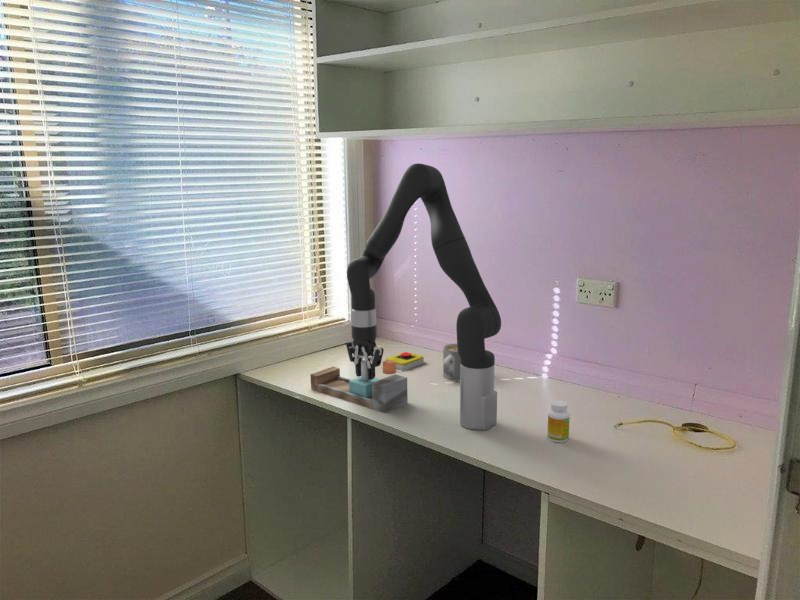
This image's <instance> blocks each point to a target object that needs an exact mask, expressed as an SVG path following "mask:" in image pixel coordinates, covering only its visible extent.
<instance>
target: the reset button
mask: <svg viewBox="0 0 800 600" xmlns="http://www.w3.org/2000/svg"><path fill="white" fill-rule="evenodd" d="M382 366H383V368H382V374H385V375H394V374H396V373H397V372H396V361H393V360H387V361H386V360H384V361H382Z"/></svg>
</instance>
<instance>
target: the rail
mask: <svg viewBox="0 0 800 600" xmlns="http://www.w3.org/2000/svg"><path fill="white" fill-rule="evenodd" d="M340 369H341V368H339V367H336V366H330V367H328V368H325V369H322V370H319V371H316V372H313V373H310V375H309V376H310V389H311V390H312V389H313V391H315V390H316V391H315V392H319V393H322V394H325V395H327V396H328V395H329V396H330V397H331V396H332V397H334V398H337V399H341V400H344V401H347V402H350V403H353V404H356V405H359V406H363V407H366V408H370V409H372V410H376V411H378V412H382V413H385V414H386V413H388V412H390V411H393V410H395V409H397V408H399V407H402V406H404V405H406V404H408V403H409V401H408V400H409V399H408V377H406V376H402V375H399V374H396V373H395V374H390V375H389V376H386V377H384V378H380V379H381V380H378V381H376V382H373V383H372V396H371V397H369V398H365V397H362V396H359V395H356V394H352V393H350V391H349V381H350V380H351V379H350V378H346V377H344V376H341V374H340V373H341V371H340Z"/></svg>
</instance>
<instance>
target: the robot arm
mask: <svg viewBox="0 0 800 600" xmlns="http://www.w3.org/2000/svg"><path fill="white" fill-rule="evenodd" d="M419 199H420V200H421V202H422V203H423V205H424V207H425V209H426V212H427V214H428V216H429V220H430V239H431V246H432V250H433V252H434V254H435V257H436V260H437V262H438V265H439V267H440V268H441V270H442V271H443V272H444V273H445V275H446V276H447V277H448V278H449V279H450V280H451V281H452V282H453V283H454V284H455V285H456V286H457V287H458V288H459V289H460V290H461V291H462V293H463V295H464V297H465V298H466V301H467V303H468V306H469V307H465V308H463V309H462V310H460V312H459V313H458V315H457V319H456V327H455V328H456V343H457V349H458V354H459V356H460V381H459V384H460V385H459V387H460V388H459V423H460V426H462V427H463V428H467V429H469V430H475V431H476V430H479V431H480V430H481V431H487V430H488V429H490V428H492V427H493V425H494V426H495V425H497V422H498V421H497V419H498V418H497V416H498V391H496V390H495V366H496V365H495V364H496V362H495V361H496V360H495V354H494V353H493V352H492V351H490V350H486V345H485V344H486V343H485V339H488V338H492V337H494V336H497V335H498V334H499V332H500V330H501V328H502V318H501V315H500V312H499V310H498V308H497V306H496V304H495V302H494V300H493V298H492V297H491V294H490V293H489V292H490V291H489V290H488V288H487V287H486V285H485V282H484V280H483V278H482V276H481V273H480V271H479V269H478V267H477V264H476V262H475V260H474V257H473V254H472V252H471V249H470V246H469V244H468V242H467V239H466V236H465V235H464V232H463V230H462V228H461V225H460V223H459V221H458V218H457V215H456V214H455V211H454V208H453V206H452V203H451V201H450V196H449V193H448V189H447V186H446V183H445V179H444V177H443V175H442V173H441V171H440V170H439V169H438V168H436V167H434V166H431V165H429V164H425V163H420V162H419V163H413V164H411V165H410V166H409V167H407V169H405V171H404V173H403V175H402V177H401V178H400V181H399V183H398V184H397V187H396V189H395V191H394V193H393V195H392V197H391V199H390V200H391V201H389V204H388V207H387V208H386V210H385V212H384V213H383V216H382V217H381V219H380V221H379V222H378V224H377V225H376V227H375V228H374V229H373V231H372V233H371V234H370V236H369V237H368V238H367V240H366V242H365V248H364V250H363V252H362V253H361V254H360V256H359V257H356V258H354V259H352V260H351V261H350V262H349V263H348V264H347V268H346V269H347V270H346V279H347V283H348V288H349V290H350V294H351V315H350V321H351V323H350V324H351V325H350V326H351V339H352V341H348V342H346V343H345V345H346V350H347V353H348V354H347V355H348V358H349V361H350V363H351V362H352V363H353V364H354V366H355V375H356V377H357V378H359V377H361V361H363V360H365V361H367V365H368V379H369V380H372V379H374V378H376V368H377V367H379V366H380V367H381V363H382V359H383V355H384V348H383V347H378V346H377V343H376V339H377V333H378V332H377V330H378V329H377V312H376V295H375V294H376V293H375V290H374V289H372V288H371V283H370V279H372V278H373V277H374V276H376V274H377V273H378V271H379V270H380V268H381V266H382V265H383V263H384V260H385V258H386V256H387V255H388V253H389V252H390V251H391V249H392V248H393V246H394V245H395V244H396V242H397V241H398V239H399V236H401V233H402V230H403V226H404V222H405V219H406V217H407V214H408V213H409V211H410V209H411V208H412V207H413V205H414V204H415V203H416V202H417V201H418V200H419Z"/></svg>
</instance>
